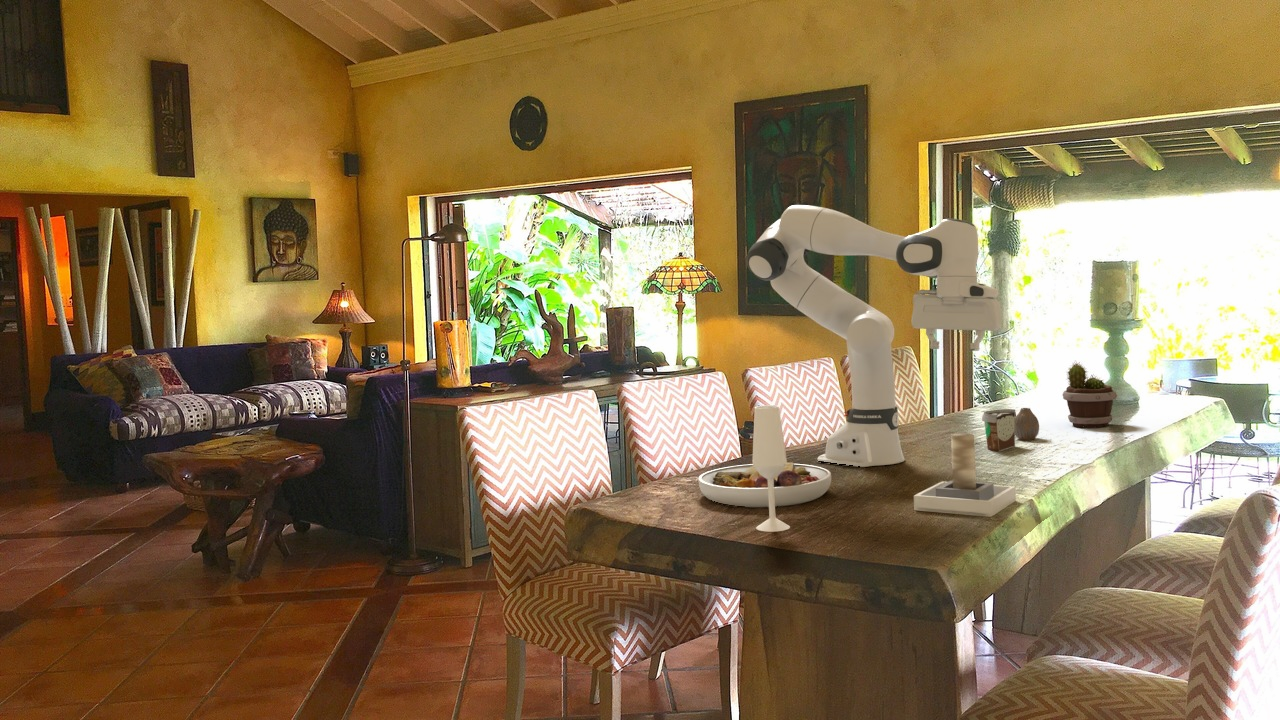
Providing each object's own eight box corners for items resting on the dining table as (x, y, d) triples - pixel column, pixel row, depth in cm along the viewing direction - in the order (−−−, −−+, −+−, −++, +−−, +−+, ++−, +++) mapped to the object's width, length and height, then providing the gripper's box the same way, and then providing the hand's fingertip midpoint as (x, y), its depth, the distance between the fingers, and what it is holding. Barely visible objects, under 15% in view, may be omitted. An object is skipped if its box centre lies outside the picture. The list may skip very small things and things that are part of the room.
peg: (950, 503, 205) (947, 436, 204) (958, 499, 208) (955, 433, 207) (972, 505, 202) (969, 437, 201) (979, 501, 205) (977, 433, 205)
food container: (995, 444, 276) (994, 408, 275) (1017, 445, 271) (1016, 409, 271) (974, 450, 267) (973, 414, 266) (996, 452, 263) (995, 415, 262)
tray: (914, 510, 204) (913, 490, 203) (942, 495, 216) (941, 476, 216) (991, 516, 194) (990, 496, 194) (1015, 500, 206) (1015, 481, 206)
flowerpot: (1110, 421, 303) (1108, 356, 302) (1122, 428, 288) (1120, 360, 287) (1059, 422, 307) (1057, 358, 305) (1069, 430, 292) (1066, 362, 290)
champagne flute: (751, 525, 199) (744, 406, 197) (782, 522, 200) (776, 403, 199) (762, 533, 192) (756, 410, 191) (795, 529, 194) (789, 407, 192)
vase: (1041, 440, 277) (1040, 409, 276) (1015, 441, 278) (1014, 410, 278) (1037, 436, 284) (1036, 406, 283) (1011, 437, 285) (1010, 407, 284)
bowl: (678, 494, 236) (676, 461, 235) (789, 478, 247) (787, 446, 246) (736, 517, 208) (734, 480, 207) (858, 499, 219) (856, 463, 218)
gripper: (907, 289, 232) (905, 348, 233) (995, 289, 220) (993, 352, 220) (919, 289, 237) (917, 347, 238) (1005, 290, 224) (1003, 351, 225)
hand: (954, 349), depth 229 cm, fingers open, 8 cm apart
